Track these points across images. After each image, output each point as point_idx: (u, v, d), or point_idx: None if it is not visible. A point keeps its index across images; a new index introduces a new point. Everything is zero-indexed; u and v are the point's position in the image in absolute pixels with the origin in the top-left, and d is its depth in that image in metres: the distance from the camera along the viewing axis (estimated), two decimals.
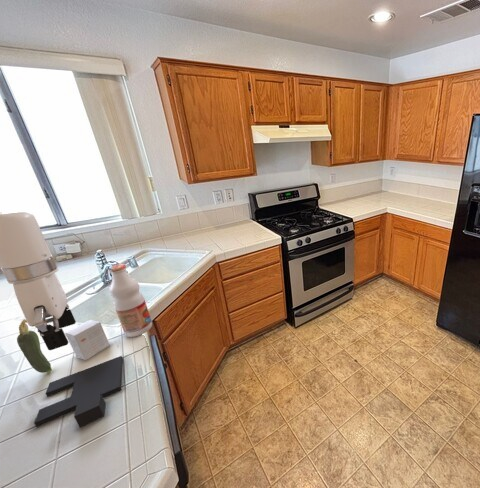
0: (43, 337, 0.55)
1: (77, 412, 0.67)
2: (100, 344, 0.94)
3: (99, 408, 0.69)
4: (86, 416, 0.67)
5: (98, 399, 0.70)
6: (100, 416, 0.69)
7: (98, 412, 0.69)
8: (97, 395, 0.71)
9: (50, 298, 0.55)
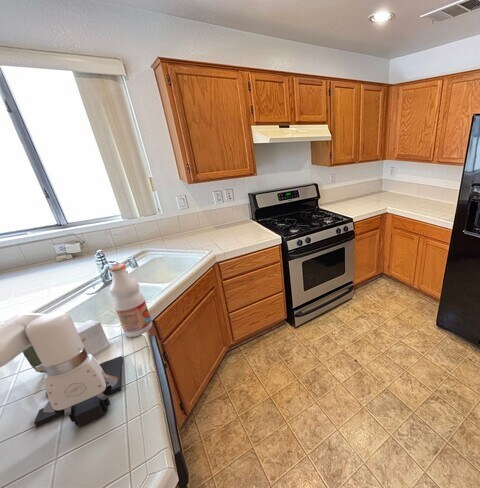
0: (103, 402, 0.70)
1: (77, 412, 0.67)
2: (100, 344, 0.94)
3: (99, 408, 0.69)
4: (86, 416, 0.67)
5: (98, 399, 0.70)
6: (100, 416, 0.69)
7: (98, 412, 0.69)
8: None
9: None
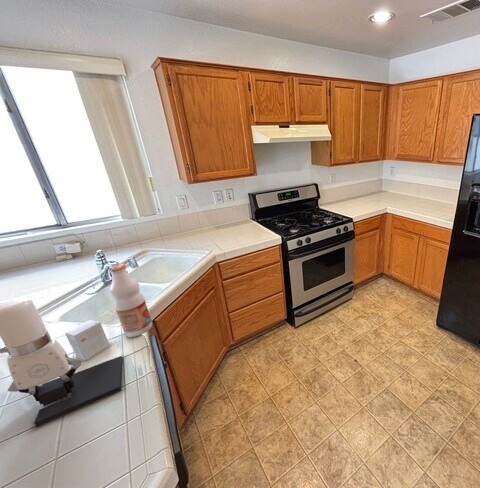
0: (66, 383, 0.75)
1: (41, 392, 0.72)
2: (100, 344, 0.94)
3: (62, 389, 0.74)
4: (50, 396, 0.72)
5: (62, 381, 0.75)
6: (64, 396, 0.74)
7: (62, 392, 0.74)
8: None
9: None
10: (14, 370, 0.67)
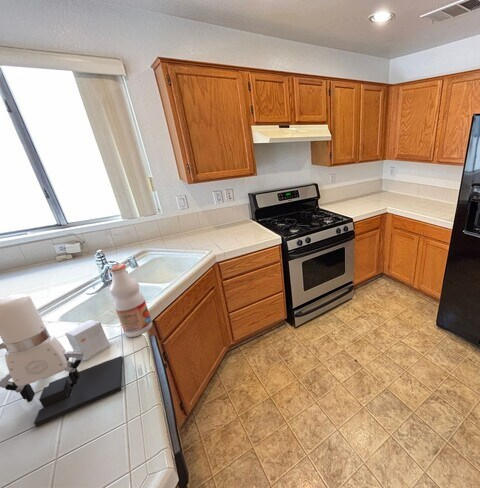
0: (72, 374, 0.75)
1: (42, 396, 0.72)
2: (100, 344, 0.94)
3: (63, 392, 0.74)
4: (51, 400, 0.73)
5: (63, 384, 0.76)
6: None
7: (63, 396, 0.74)
8: (63, 381, 0.77)
9: None
10: (12, 366, 0.66)
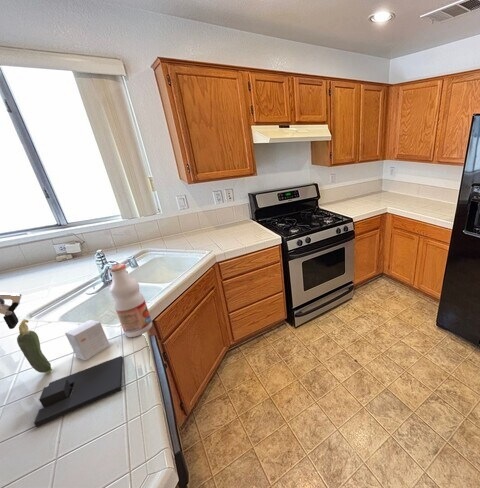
0: (7, 317, 0.69)
1: (42, 396, 0.72)
2: (100, 344, 0.94)
3: (64, 392, 0.74)
4: (51, 400, 0.73)
5: (63, 384, 0.76)
6: None
7: (63, 396, 0.74)
8: (63, 381, 0.77)
9: None
10: None
